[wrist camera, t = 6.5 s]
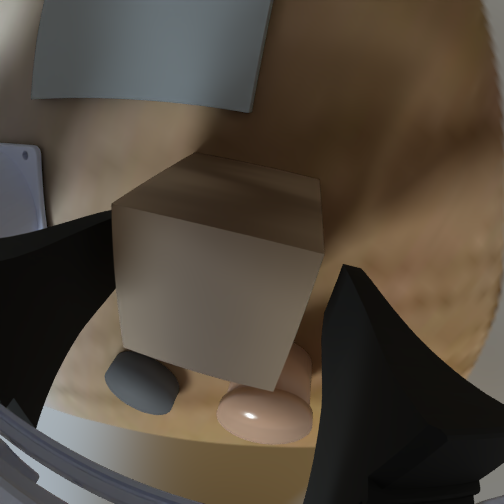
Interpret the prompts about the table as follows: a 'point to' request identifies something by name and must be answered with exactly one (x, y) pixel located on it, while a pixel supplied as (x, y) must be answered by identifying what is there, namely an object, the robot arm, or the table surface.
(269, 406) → the pink dome knob
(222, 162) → the walnut block
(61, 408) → the table surface
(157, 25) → the slate tile
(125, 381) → the rubber puck
